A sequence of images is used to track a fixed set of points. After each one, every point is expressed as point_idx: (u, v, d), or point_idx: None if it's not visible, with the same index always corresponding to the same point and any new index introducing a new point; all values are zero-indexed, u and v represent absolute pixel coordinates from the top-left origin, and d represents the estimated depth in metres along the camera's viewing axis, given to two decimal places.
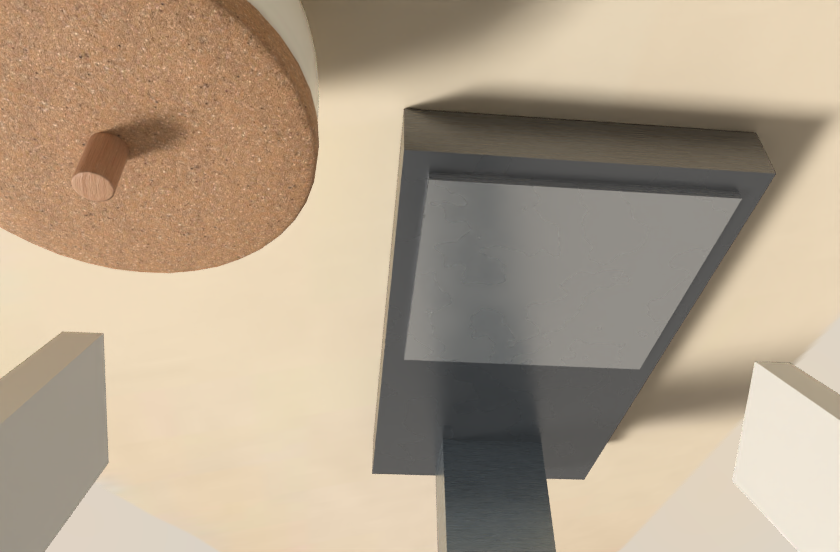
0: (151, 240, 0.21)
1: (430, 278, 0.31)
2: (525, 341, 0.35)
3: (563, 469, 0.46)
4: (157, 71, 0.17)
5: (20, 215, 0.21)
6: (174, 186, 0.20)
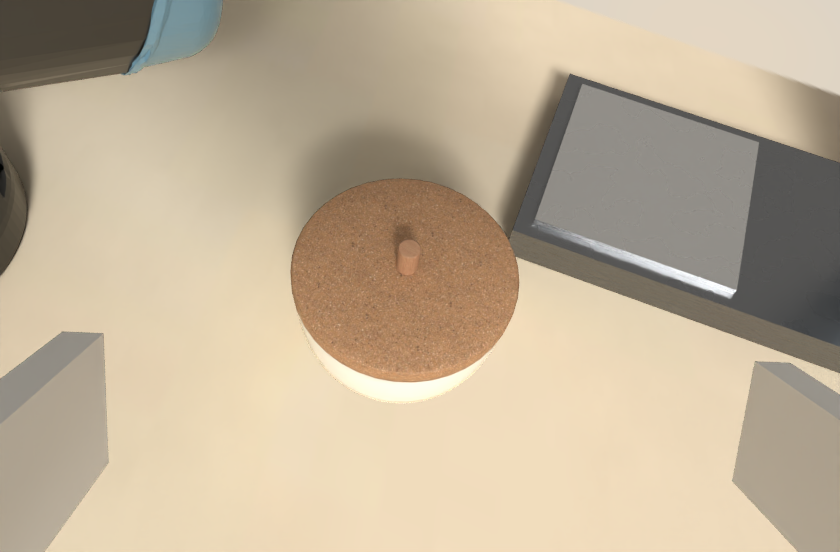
0: (481, 284, 0.33)
1: (630, 243, 0.42)
2: (715, 204, 0.44)
3: None
4: (371, 220, 0.34)
5: (440, 342, 0.32)
6: (442, 250, 0.34)
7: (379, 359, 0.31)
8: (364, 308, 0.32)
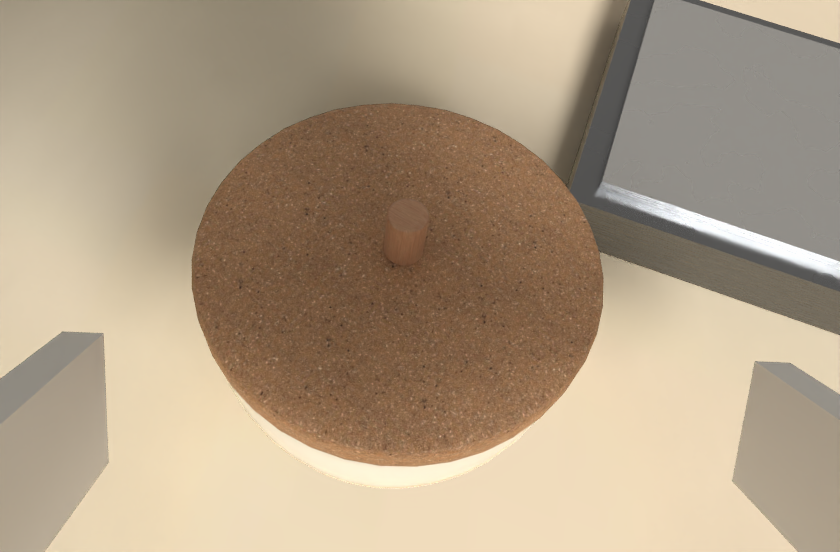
0: (537, 282, 0.18)
1: (751, 217, 0.27)
2: None
3: None
4: (341, 170, 0.20)
5: (467, 391, 0.17)
6: (466, 221, 0.19)
7: (351, 426, 0.16)
8: (325, 327, 0.17)
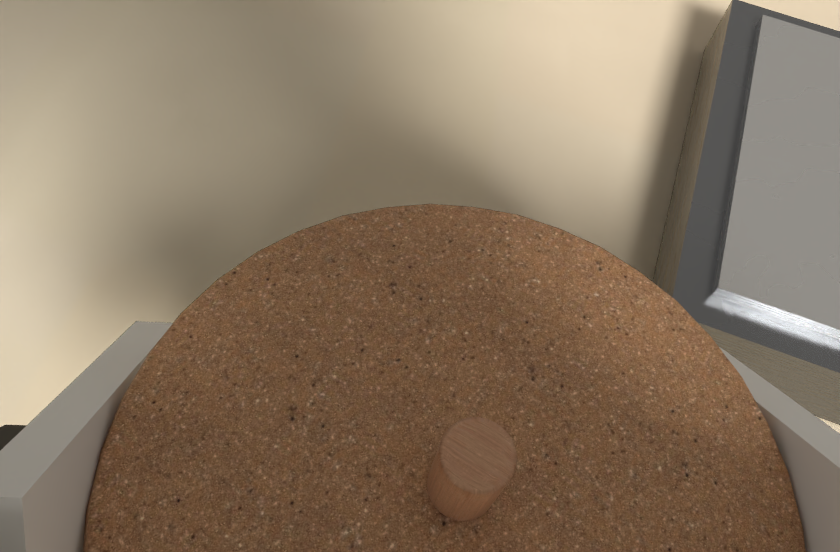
0: (698, 547, 0.10)
1: None
2: None
3: None
4: (351, 331, 0.12)
5: None
6: (566, 425, 0.11)
7: None
8: None
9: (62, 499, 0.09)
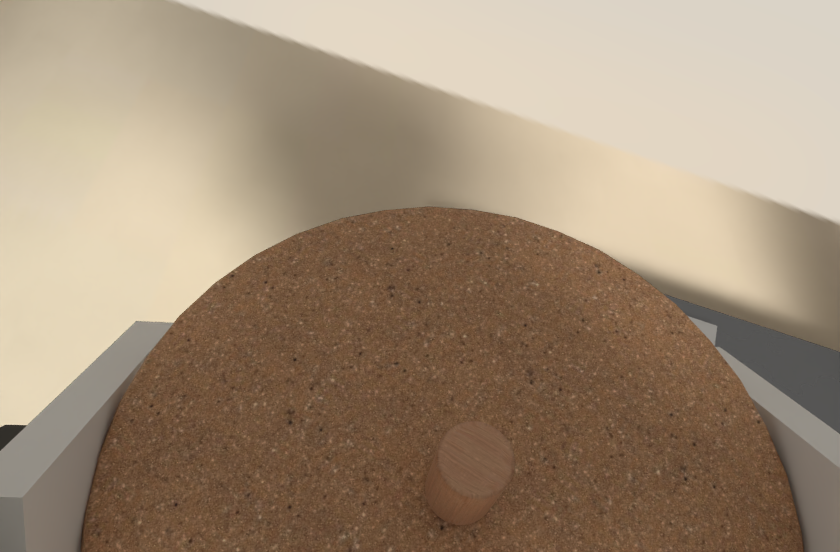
0: (697, 551, 0.10)
1: None
2: None
3: None
4: (349, 334, 0.12)
5: None
6: (565, 429, 0.11)
7: None
8: None
9: (62, 499, 0.09)
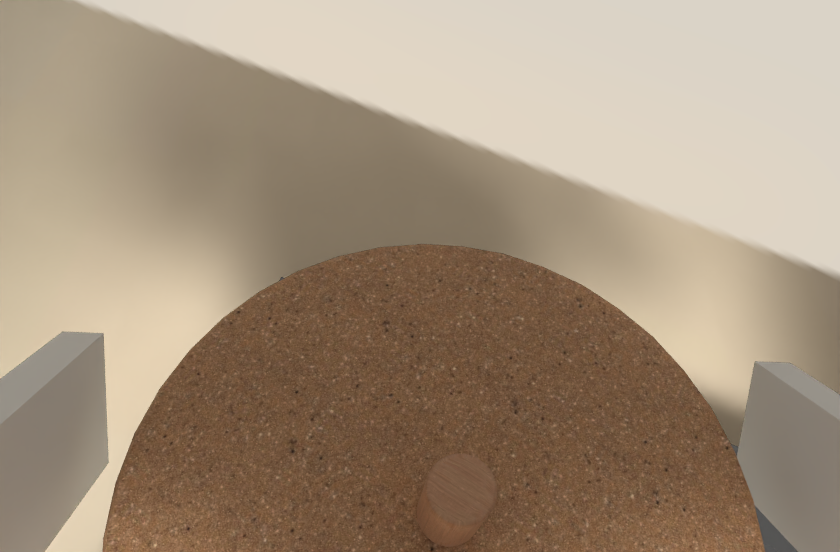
0: None
1: None
2: None
3: None
4: (347, 367, 0.13)
5: None
6: (546, 456, 0.12)
7: None
8: None
9: None
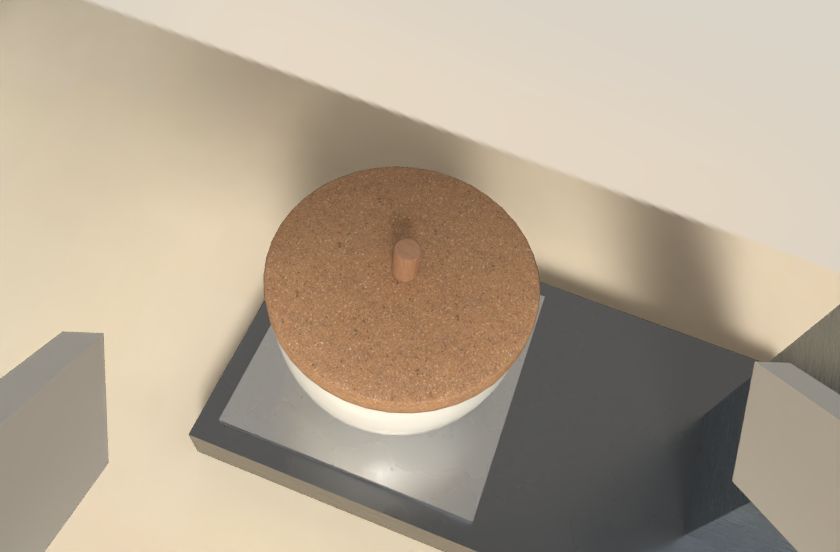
0: (494, 293, 0.27)
1: (341, 453, 0.32)
2: None
3: None
4: (362, 216, 0.29)
5: (445, 364, 0.26)
6: (447, 251, 0.28)
7: (370, 385, 0.25)
8: (352, 322, 0.26)
9: None
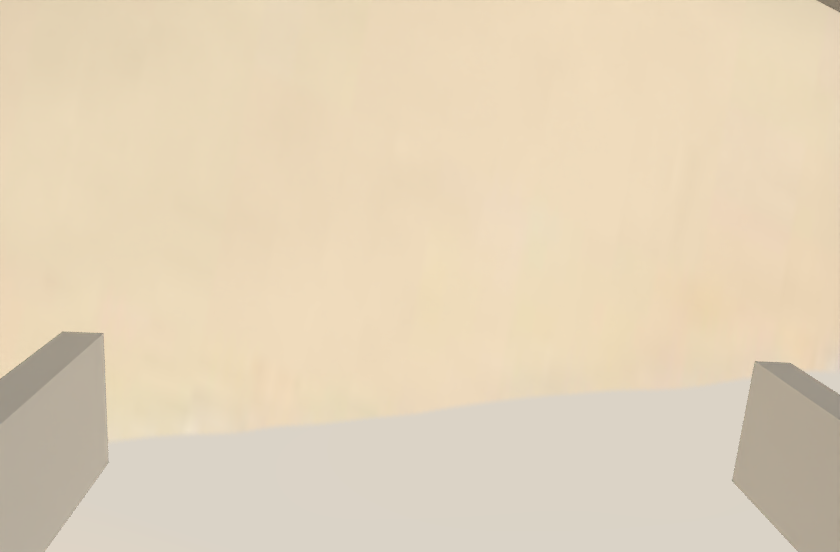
0: None
1: None
2: None
3: None
4: None
5: None
6: None
7: None
8: None
9: None
